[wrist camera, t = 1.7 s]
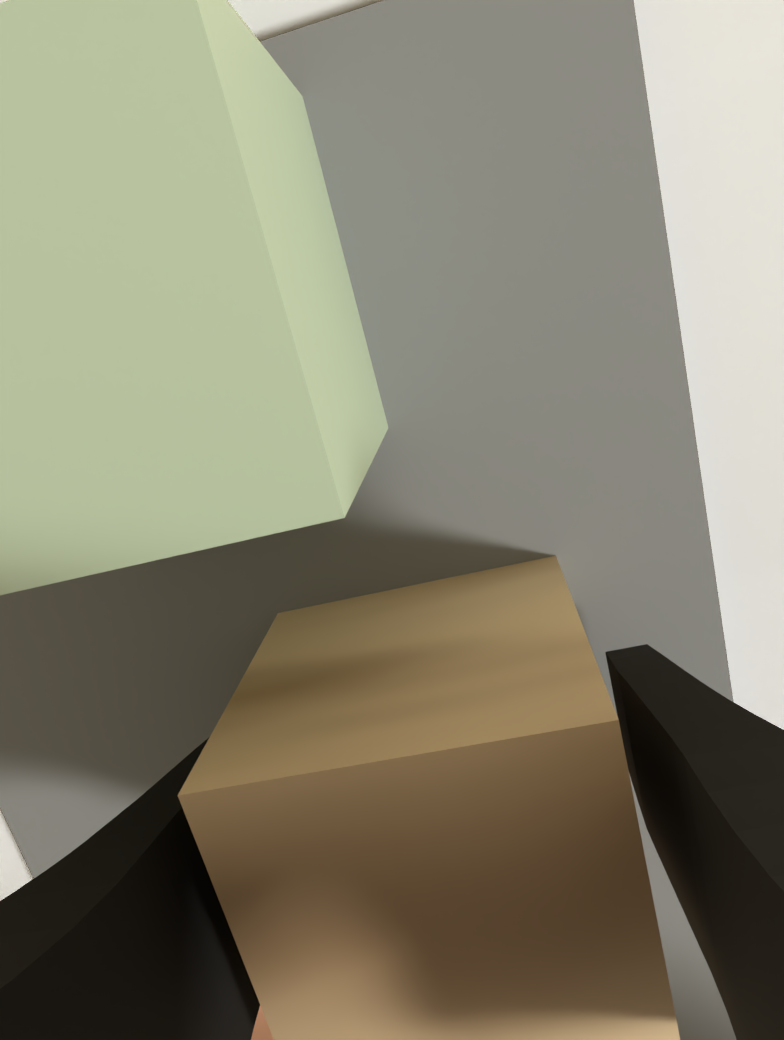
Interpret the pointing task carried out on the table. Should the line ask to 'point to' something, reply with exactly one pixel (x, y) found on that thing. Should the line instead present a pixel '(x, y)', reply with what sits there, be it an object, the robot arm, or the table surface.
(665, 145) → the table surface
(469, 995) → the maple block
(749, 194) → the table surface
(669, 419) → the mat
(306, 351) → the sage block
